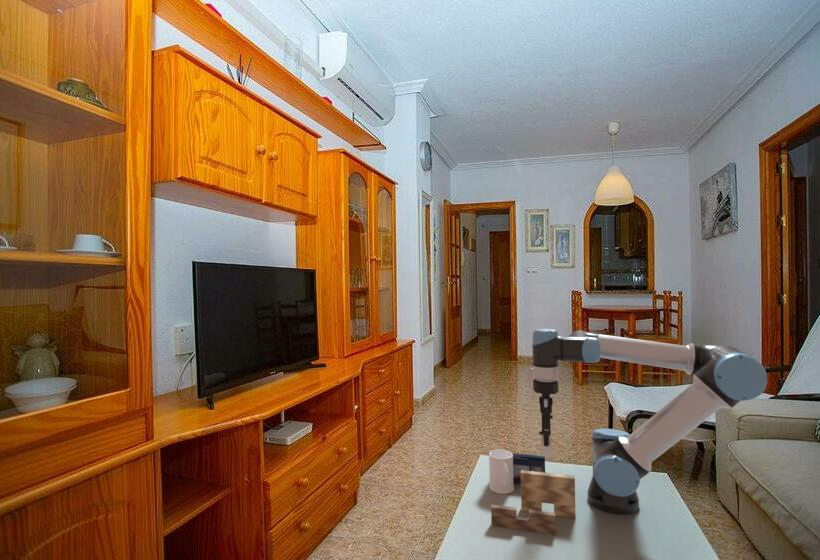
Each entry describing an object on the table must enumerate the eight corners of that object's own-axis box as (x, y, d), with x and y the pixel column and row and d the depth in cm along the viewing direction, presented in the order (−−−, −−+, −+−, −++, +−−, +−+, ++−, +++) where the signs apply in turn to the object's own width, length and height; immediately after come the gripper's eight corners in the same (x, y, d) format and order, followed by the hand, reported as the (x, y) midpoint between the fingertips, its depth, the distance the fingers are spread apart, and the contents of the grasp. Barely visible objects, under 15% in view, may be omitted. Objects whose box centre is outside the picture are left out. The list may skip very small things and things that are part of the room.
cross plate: (575, 514, 136) (574, 475, 136) (575, 518, 134) (574, 478, 134) (521, 507, 141) (521, 470, 141) (521, 510, 139) (520, 472, 139)
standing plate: (555, 531, 127) (554, 512, 127) (555, 535, 126) (554, 515, 125) (492, 522, 132) (491, 504, 132) (491, 525, 131) (491, 507, 131)
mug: (518, 498, 146) (518, 462, 146) (493, 499, 146) (492, 463, 146) (511, 482, 158) (510, 448, 158) (487, 482, 158) (486, 449, 158)
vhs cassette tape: (492, 481, 159) (491, 453, 159) (493, 477, 162) (492, 450, 162) (545, 487, 154) (545, 459, 154) (545, 483, 156) (545, 455, 156)
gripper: (534, 370, 150) (535, 432, 150) (531, 388, 126) (532, 462, 126) (557, 371, 148) (558, 434, 148) (559, 390, 124) (560, 465, 124)
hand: (546, 447), depth 137 cm, fingers open, 13 cm apart
